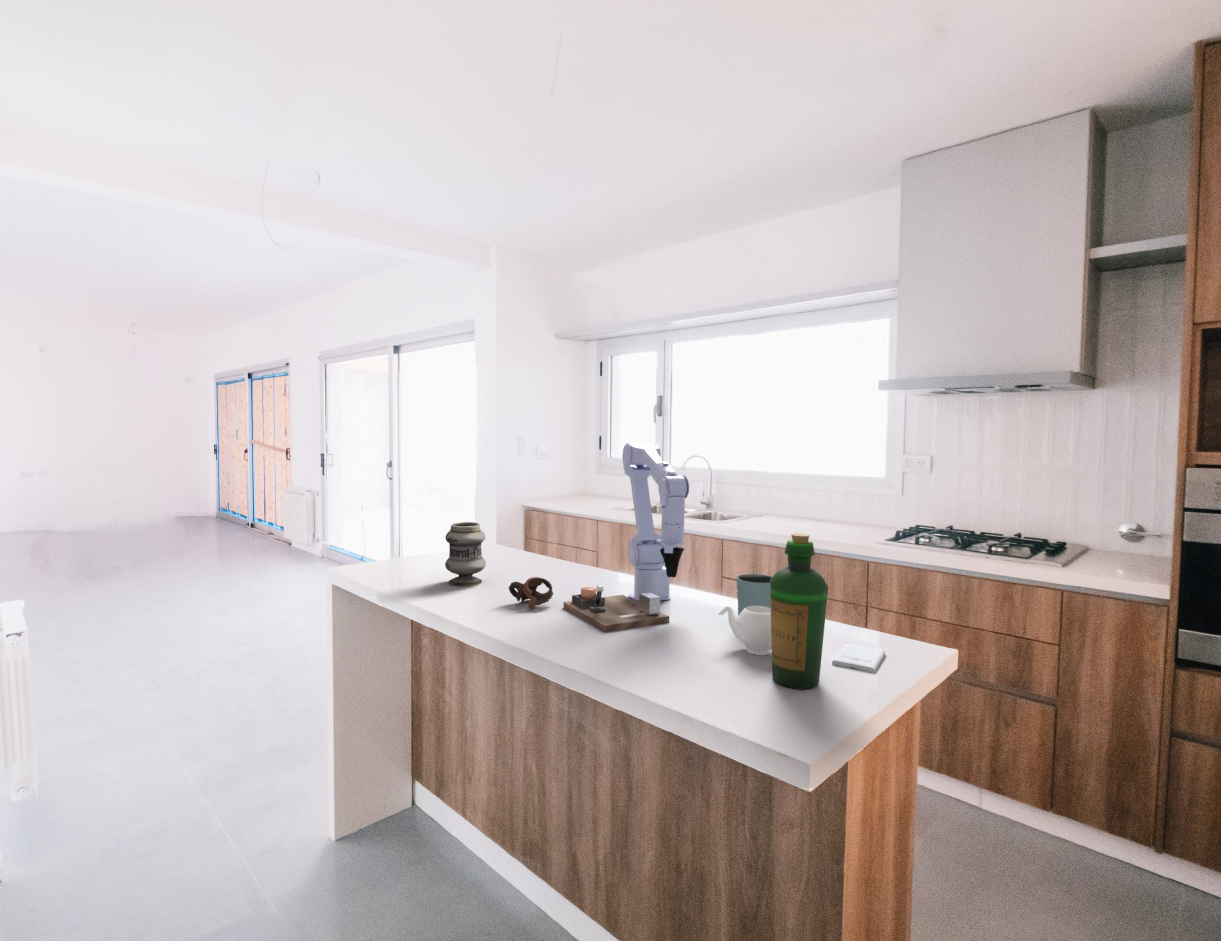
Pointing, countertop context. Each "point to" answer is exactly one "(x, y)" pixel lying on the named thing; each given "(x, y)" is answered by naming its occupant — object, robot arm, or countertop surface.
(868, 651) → the external hard drive
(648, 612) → the gray rectangular block
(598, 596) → the toggle lever
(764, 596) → the blue-gray cylindrical pot
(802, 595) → the bottle
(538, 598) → the brown curved loop piece
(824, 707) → the countertop surface
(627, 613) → the control panel
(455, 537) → the apothecary jar
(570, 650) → the countertop surface
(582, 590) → the push button
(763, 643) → the teapot
